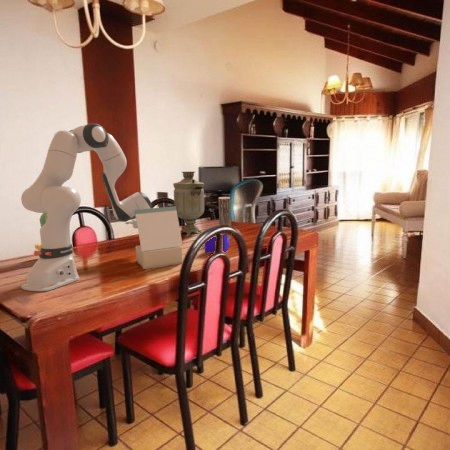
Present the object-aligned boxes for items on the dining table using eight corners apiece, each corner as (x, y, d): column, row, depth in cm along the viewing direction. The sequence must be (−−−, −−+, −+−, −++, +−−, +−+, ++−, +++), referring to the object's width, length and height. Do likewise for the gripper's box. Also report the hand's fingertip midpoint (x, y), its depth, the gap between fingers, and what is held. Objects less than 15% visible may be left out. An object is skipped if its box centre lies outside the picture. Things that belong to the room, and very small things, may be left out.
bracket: (224, 254, 185) (223, 231, 183) (205, 252, 189) (204, 230, 187) (236, 245, 201) (236, 224, 199) (218, 244, 205) (217, 224, 203)
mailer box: (182, 263, 170) (181, 247, 169) (144, 269, 162) (143, 252, 161) (172, 256, 183) (171, 241, 182) (136, 261, 176) (135, 245, 174)
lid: (182, 245, 169) (182, 245, 168) (141, 251, 161) (141, 251, 160) (175, 206, 172) (175, 206, 171) (134, 210, 164) (135, 209, 163)
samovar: (163, 230, 249) (159, 172, 241) (200, 227, 256) (197, 170, 249) (170, 239, 221) (166, 173, 213) (211, 235, 228) (209, 171, 221)
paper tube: (231, 237, 221) (230, 196, 217) (230, 240, 214) (229, 198, 210) (220, 237, 222) (219, 197, 217) (219, 240, 215) (217, 198, 211)
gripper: (128, 215, 174) (135, 219, 162) (169, 211, 183) (178, 215, 171) (129, 228, 176) (136, 233, 163) (170, 223, 185) (179, 228, 172)
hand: (158, 224), depth 167 cm, fingers closed, pressing on lid
